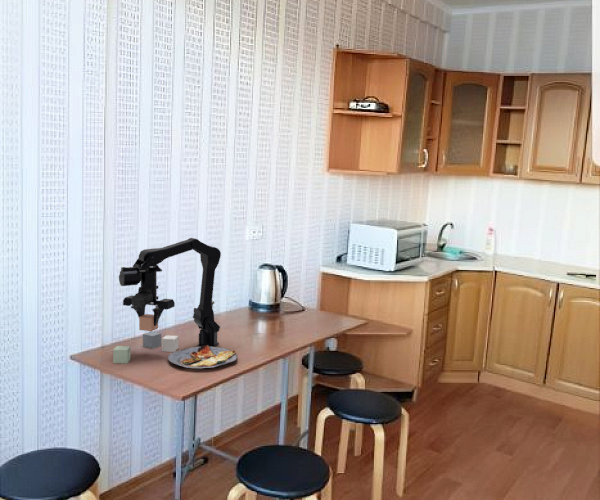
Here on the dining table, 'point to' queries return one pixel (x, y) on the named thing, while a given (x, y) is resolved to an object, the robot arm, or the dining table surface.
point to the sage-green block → (121, 354)
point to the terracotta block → (147, 322)
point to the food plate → (203, 357)
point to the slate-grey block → (151, 339)
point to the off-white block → (169, 343)
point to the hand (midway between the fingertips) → (148, 324)
